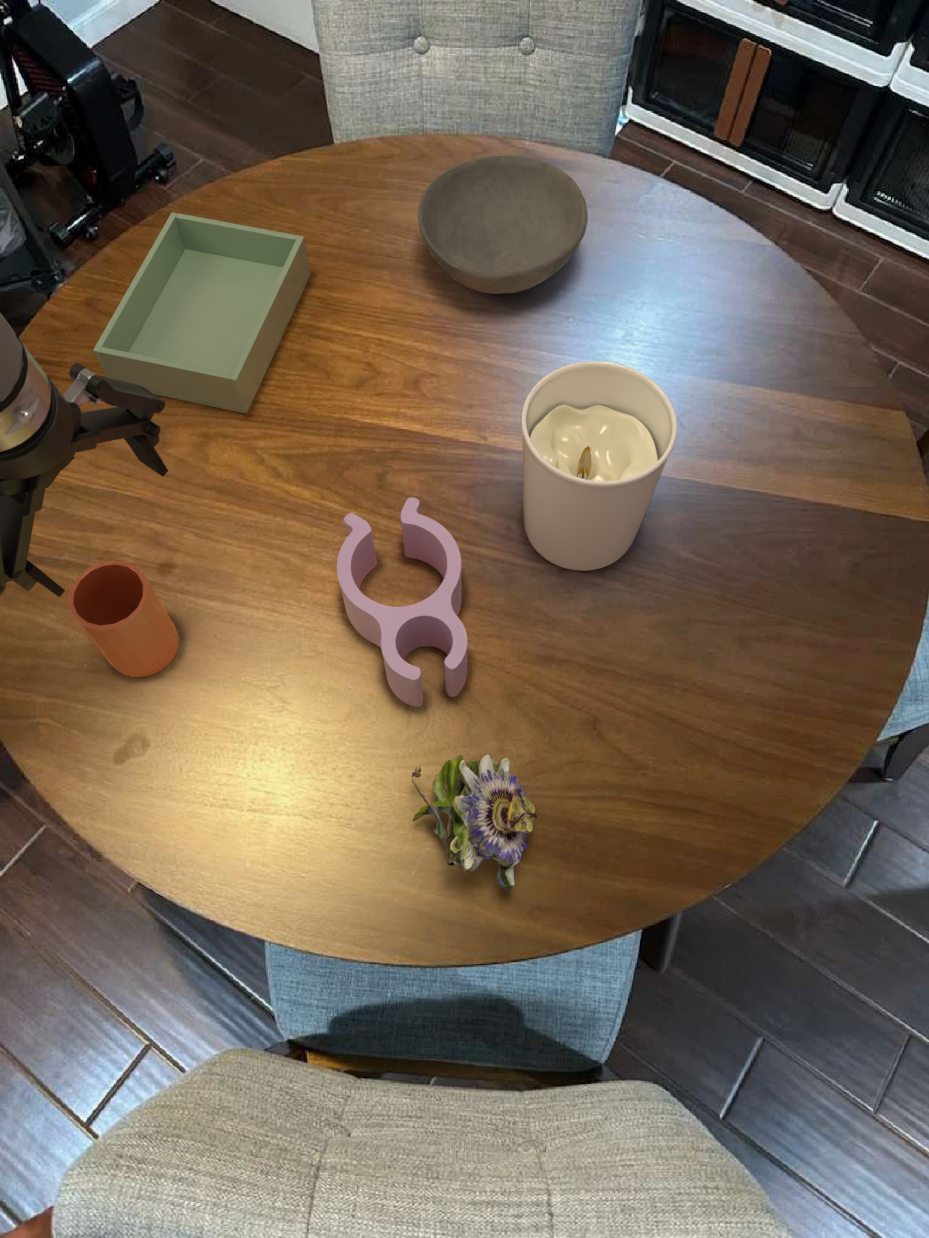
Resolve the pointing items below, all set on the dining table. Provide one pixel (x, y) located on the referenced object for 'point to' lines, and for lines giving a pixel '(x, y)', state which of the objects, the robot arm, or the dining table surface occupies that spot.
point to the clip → (415, 622)
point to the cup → (124, 618)
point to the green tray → (206, 311)
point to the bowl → (502, 222)
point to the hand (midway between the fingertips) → (103, 524)
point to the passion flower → (481, 814)
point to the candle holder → (592, 460)
